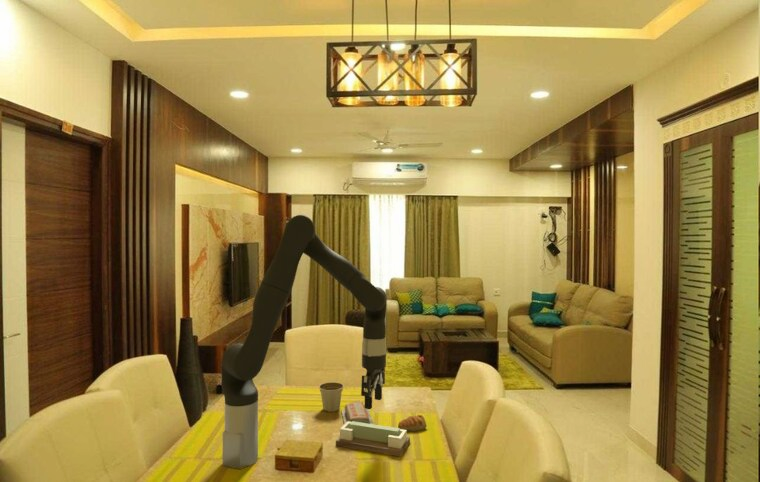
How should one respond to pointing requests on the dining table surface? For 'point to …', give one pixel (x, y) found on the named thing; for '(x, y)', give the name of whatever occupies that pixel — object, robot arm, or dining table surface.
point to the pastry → (413, 423)
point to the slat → (373, 431)
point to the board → (372, 446)
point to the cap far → (346, 432)
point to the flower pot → (331, 395)
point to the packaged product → (356, 413)
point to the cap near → (397, 439)
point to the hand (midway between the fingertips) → (373, 404)
